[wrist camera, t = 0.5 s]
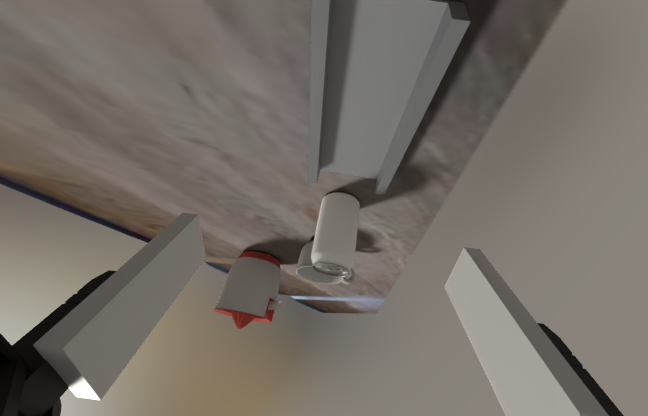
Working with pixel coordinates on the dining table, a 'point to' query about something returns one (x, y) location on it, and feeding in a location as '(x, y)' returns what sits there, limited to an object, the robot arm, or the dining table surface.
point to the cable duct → (375, 80)
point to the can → (336, 235)
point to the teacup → (309, 274)
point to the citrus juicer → (251, 289)
